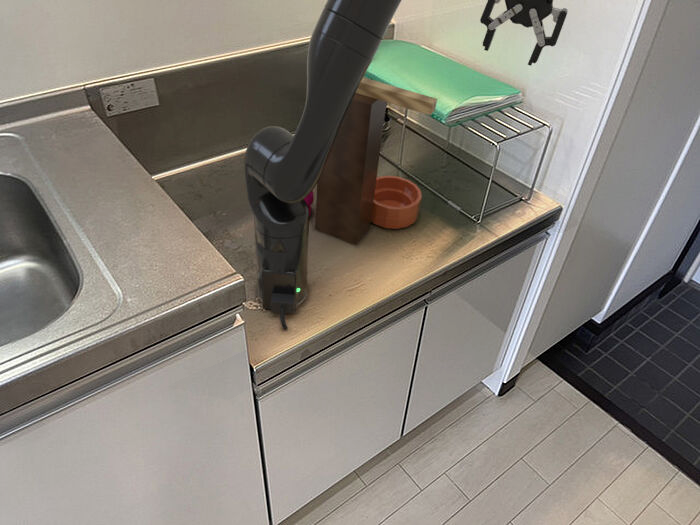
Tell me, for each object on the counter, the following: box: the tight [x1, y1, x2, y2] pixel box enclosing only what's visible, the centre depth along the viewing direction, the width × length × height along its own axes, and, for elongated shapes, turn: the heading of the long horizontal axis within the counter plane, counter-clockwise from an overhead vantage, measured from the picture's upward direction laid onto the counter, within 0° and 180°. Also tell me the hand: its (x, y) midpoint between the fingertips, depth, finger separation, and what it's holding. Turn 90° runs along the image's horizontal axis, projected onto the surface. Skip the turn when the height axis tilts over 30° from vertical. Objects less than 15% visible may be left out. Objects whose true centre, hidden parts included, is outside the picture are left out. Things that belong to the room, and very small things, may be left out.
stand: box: [314, 93, 387, 246], centre depth 108 cm, size 10×7×32 cm
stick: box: [356, 77, 438, 116], centre depth 96 cm, size 24×2×2 cm, turn 63°
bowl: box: [371, 175, 423, 230], centre depth 122 cm, size 13×13×6 cm
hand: (508, 56), depth 102 cm, fingers open, 8 cm apart
